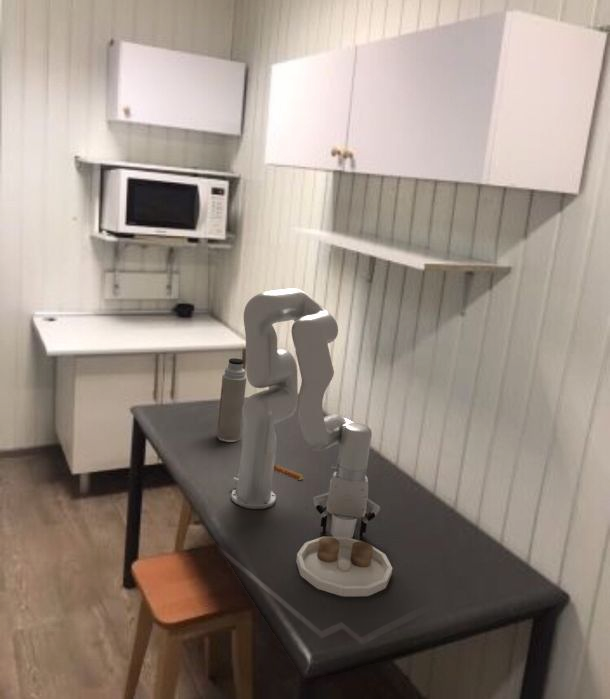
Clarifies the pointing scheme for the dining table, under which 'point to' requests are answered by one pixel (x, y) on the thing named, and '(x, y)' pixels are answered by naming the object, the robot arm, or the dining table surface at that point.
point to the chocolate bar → (288, 472)
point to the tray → (343, 570)
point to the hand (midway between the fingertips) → (342, 531)
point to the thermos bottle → (232, 400)
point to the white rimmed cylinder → (343, 525)
